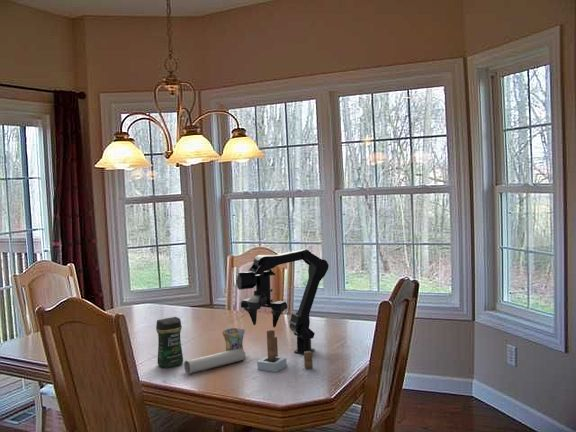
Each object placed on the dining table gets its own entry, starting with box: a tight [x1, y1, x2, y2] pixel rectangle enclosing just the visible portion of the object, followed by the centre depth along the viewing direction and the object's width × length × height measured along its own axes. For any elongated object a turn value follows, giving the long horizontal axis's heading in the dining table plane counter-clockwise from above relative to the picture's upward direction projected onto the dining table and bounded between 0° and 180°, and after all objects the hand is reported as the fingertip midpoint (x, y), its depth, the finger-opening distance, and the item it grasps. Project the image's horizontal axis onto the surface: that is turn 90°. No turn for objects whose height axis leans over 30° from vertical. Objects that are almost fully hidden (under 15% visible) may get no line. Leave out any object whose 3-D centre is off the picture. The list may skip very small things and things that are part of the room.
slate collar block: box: [256, 355, 288, 373], centre depth 210 cm, size 8×8×3 cm
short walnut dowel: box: [303, 351, 313, 370], centre depth 207 cm, size 3×3×6 cm
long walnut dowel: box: [266, 329, 276, 362], centre depth 209 cm, size 3×3×14 cm
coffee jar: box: [155, 316, 184, 369], centre depth 218 cm, size 10×8×19 cm
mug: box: [221, 327, 246, 352], centre depth 226 cm, size 12×9×11 cm
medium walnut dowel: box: [275, 336, 279, 357], centre depth 218 cm, size 3×3×9 cm
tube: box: [183, 348, 246, 375], centre depth 214 cm, size 5×5×25 cm
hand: (264, 326), depth 220 cm, fingers open, 9 cm apart
